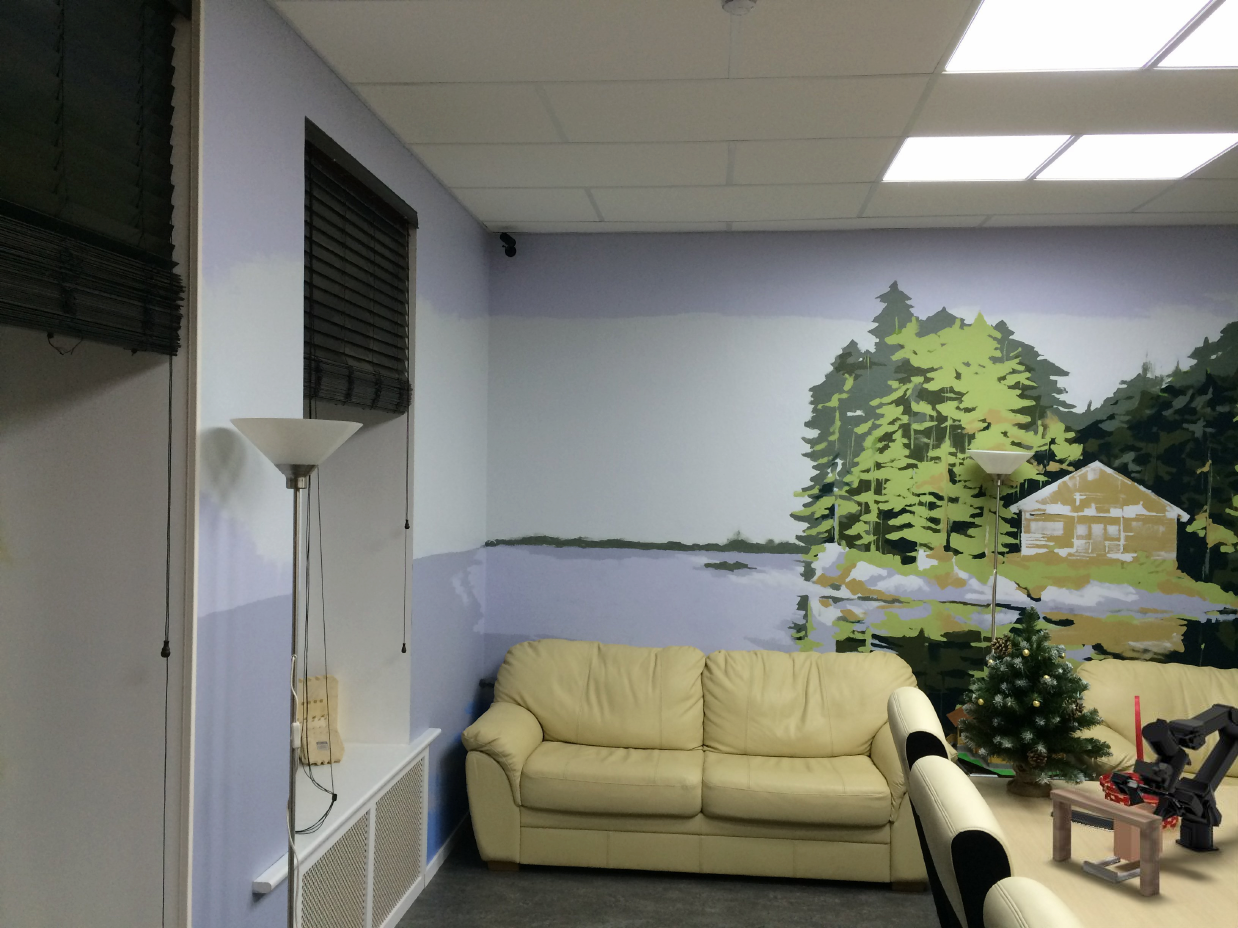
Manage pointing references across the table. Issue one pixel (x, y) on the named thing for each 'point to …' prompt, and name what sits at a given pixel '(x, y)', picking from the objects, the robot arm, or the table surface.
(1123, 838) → the terracotta panel
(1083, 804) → the walnut bridge
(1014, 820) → the table surface
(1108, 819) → the phone
